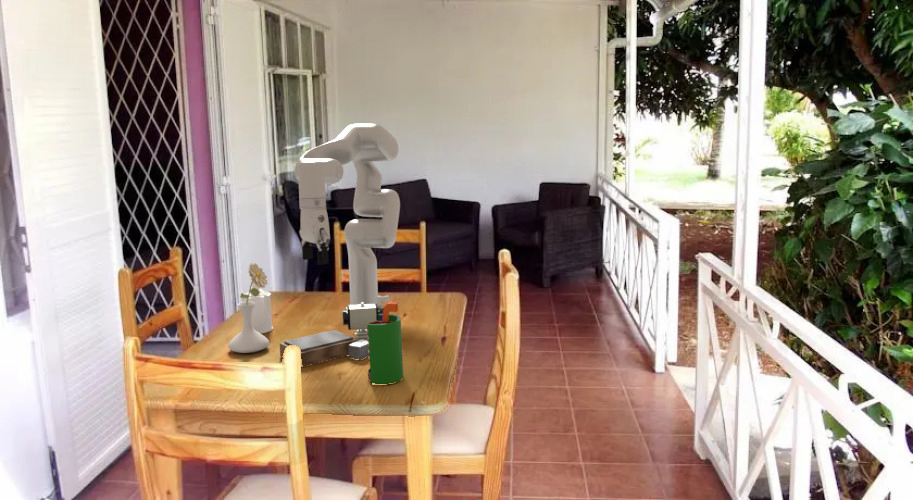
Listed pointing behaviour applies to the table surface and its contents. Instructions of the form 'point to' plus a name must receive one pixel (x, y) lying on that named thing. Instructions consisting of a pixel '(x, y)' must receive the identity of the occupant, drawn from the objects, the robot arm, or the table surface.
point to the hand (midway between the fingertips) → (315, 261)
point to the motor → (385, 347)
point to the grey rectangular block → (358, 349)
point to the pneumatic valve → (360, 318)
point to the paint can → (260, 310)
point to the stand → (320, 346)
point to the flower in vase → (248, 336)
